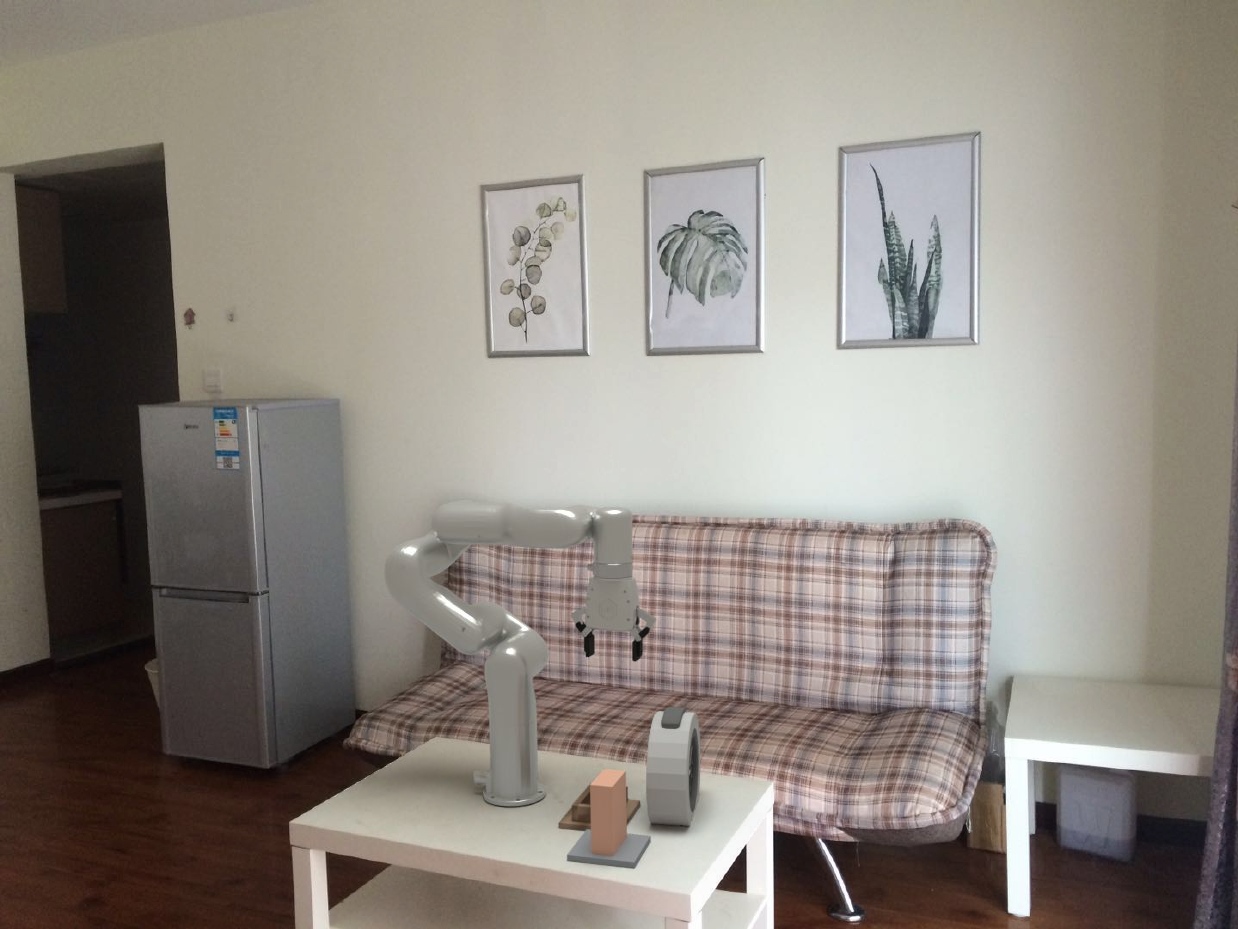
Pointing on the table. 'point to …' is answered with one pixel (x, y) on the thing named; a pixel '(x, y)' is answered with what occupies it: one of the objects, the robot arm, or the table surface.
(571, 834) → the table surface
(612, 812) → the salmon pink tall block
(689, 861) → the table surface
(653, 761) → the alarm clock
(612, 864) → the mat
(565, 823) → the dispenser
